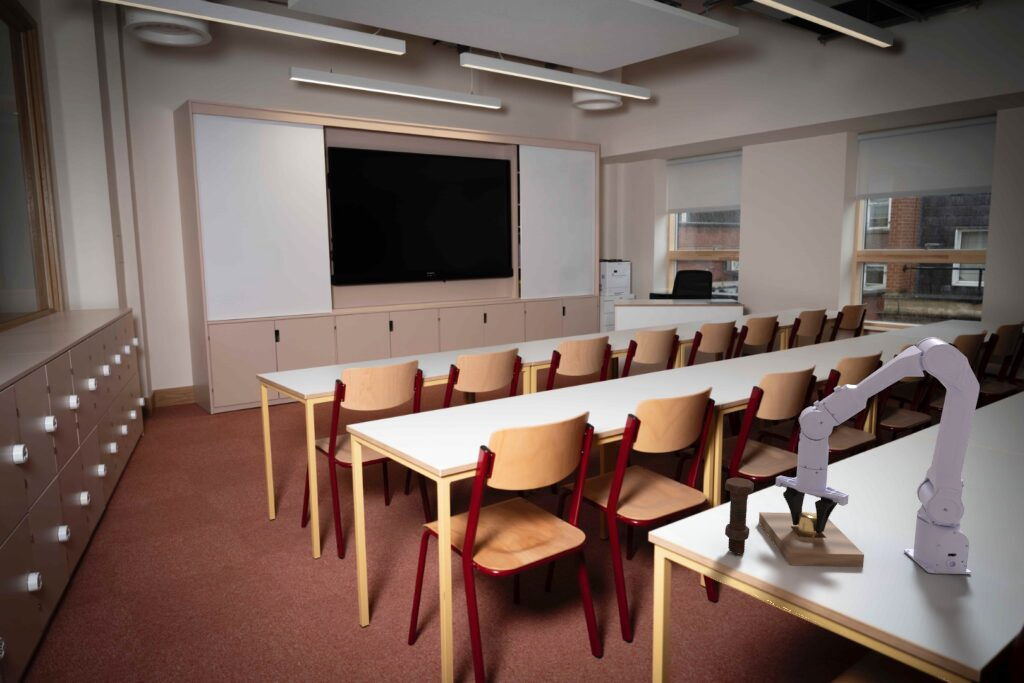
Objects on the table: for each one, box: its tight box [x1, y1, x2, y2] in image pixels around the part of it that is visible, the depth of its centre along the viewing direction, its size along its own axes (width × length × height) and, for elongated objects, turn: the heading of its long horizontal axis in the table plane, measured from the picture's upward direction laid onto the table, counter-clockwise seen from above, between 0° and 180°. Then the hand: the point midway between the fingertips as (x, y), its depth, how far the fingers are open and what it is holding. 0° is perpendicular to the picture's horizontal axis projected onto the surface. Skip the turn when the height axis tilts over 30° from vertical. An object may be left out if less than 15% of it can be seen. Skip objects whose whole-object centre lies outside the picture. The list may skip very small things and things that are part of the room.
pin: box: [798, 511, 819, 538], centre depth 143 cm, size 4×4×6 cm
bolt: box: [724, 477, 755, 556], centre depth 138 cm, size 6×5×15 cm
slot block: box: [758, 511, 865, 568], centre depth 143 cm, size 20×14×2 cm
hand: (808, 527), depth 143 cm, fingers open, 4 cm apart
